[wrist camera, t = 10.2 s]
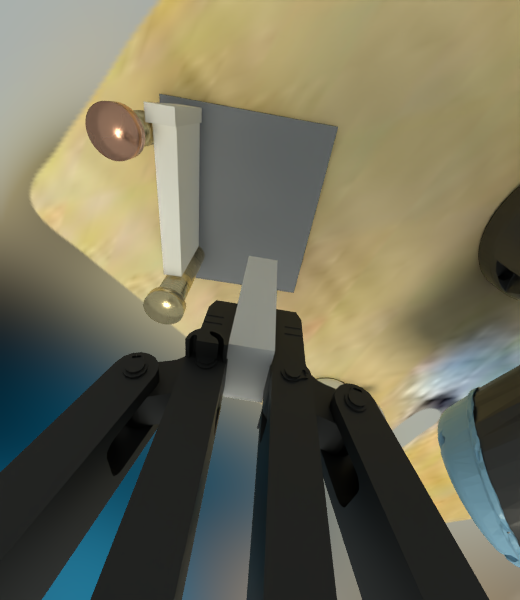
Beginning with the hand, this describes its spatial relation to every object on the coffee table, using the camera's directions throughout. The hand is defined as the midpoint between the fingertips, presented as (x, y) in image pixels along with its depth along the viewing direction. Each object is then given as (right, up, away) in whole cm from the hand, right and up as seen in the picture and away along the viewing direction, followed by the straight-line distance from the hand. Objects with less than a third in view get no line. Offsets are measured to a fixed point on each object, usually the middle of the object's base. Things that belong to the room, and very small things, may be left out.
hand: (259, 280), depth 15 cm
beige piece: (-6, +10, +11) cm, 16 cm away
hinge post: (-7, +4, +16) cm, 18 cm away
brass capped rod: (-8, +14, +9) cm, 19 cm away
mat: (-2, +8, +13) cm, 16 cm away
